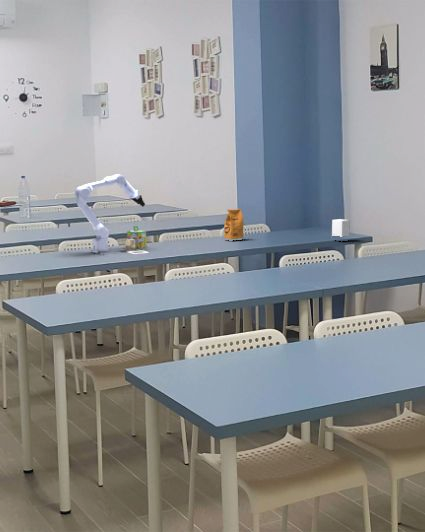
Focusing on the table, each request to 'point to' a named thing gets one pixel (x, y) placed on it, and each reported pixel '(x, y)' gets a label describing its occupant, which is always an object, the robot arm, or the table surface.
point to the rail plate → (129, 250)
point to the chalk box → (137, 237)
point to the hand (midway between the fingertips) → (141, 204)
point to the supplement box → (340, 227)
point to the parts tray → (137, 251)
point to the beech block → (130, 244)
